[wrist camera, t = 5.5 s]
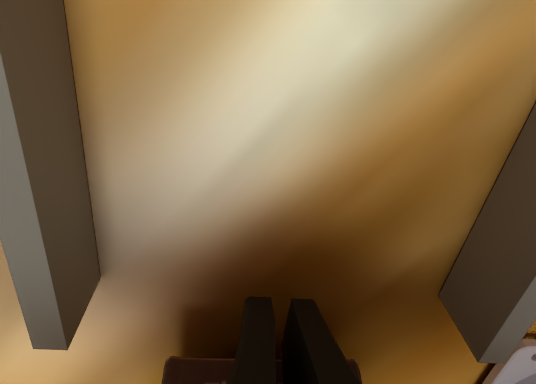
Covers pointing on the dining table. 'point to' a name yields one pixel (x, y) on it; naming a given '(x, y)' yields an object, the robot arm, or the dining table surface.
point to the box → (213, 370)
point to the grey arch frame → (81, 223)
